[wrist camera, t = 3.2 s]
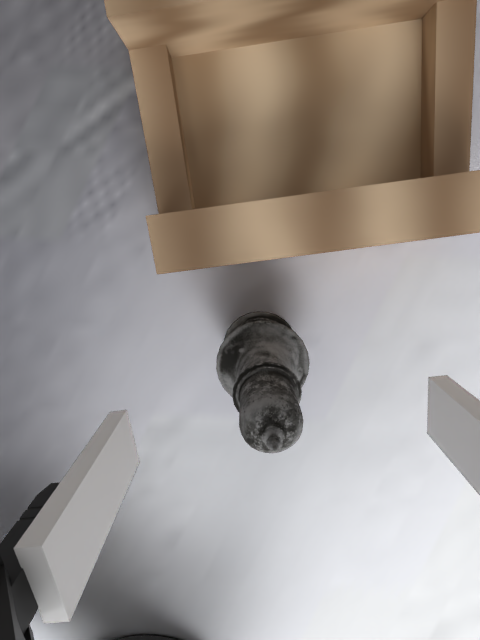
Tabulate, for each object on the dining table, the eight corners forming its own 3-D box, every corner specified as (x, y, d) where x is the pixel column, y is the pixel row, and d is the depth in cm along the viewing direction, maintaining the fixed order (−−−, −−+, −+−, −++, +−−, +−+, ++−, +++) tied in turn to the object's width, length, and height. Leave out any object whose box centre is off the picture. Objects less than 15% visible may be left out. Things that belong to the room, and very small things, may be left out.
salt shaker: (309, 369, 26) (365, 488, 14) (235, 393, 26) (229, 525, 15) (286, 296, 24) (327, 361, 13) (208, 322, 25) (178, 407, 13)
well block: (176, 263, 24) (157, 274, 18) (131, 10, 20) (90, -68, 14) (443, 228, 23) (503, 229, 18) (450, -41, 19) (530, -144, 14)
